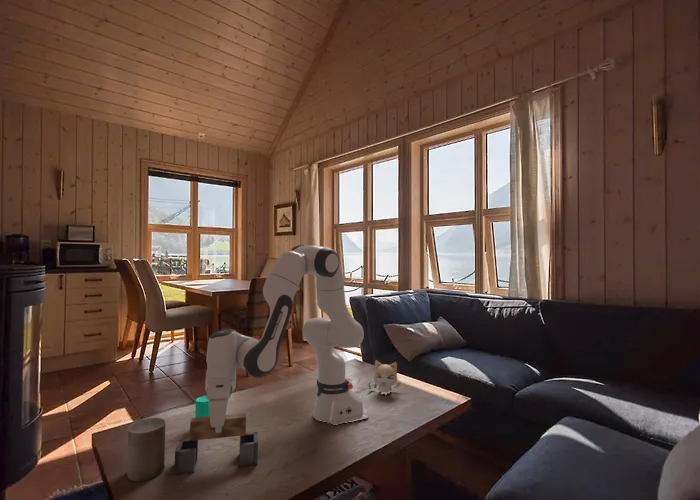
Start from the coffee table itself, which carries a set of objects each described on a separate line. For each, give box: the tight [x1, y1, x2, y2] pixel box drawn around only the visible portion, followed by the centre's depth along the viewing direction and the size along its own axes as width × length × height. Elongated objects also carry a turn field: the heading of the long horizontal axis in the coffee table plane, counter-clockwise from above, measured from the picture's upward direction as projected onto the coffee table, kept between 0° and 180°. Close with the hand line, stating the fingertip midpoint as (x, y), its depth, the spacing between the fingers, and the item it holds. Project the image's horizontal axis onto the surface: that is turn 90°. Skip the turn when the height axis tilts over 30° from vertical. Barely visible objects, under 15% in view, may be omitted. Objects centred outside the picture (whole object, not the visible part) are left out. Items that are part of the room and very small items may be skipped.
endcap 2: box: [238, 431, 259, 468], centre depth 114 cm, size 5×7×6 cm
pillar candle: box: [126, 417, 166, 482], centre depth 106 cm, size 10×10×15 cm
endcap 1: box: [173, 438, 199, 476], centre depth 109 cm, size 5×7×6 cm
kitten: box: [368, 359, 402, 392], centre depth 172 cm, size 15×10×15 cm
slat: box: [189, 412, 247, 441], centre depth 111 cm, size 16×3×6 cm, turn 106°
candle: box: [194, 394, 209, 418], centre depth 134 cm, size 6×6×12 cm
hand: (219, 428), depth 111 cm, fingers closed on slat, 3 cm apart
